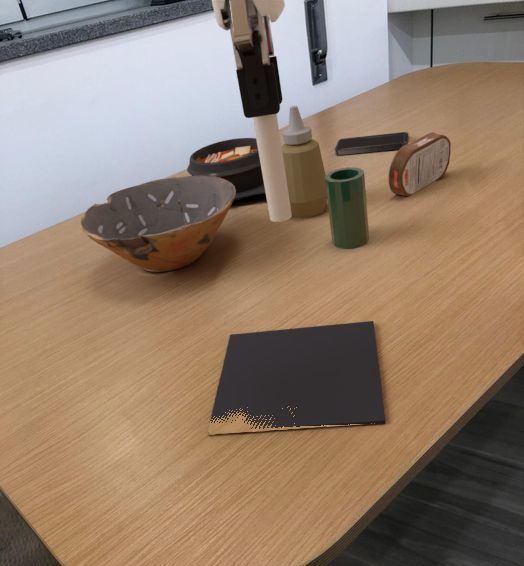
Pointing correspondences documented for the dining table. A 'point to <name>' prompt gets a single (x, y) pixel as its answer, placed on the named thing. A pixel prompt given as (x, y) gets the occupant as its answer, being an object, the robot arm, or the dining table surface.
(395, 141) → the phone
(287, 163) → the squeeze bottle
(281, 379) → the mat
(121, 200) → the bowl
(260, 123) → the rod
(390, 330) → the dining table surface
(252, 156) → the casserole
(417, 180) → the tin
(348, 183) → the pen holder
